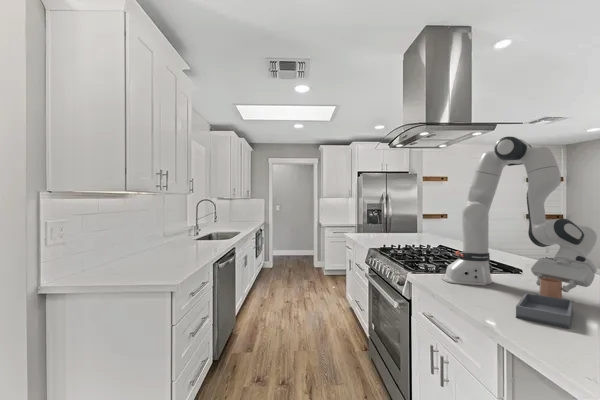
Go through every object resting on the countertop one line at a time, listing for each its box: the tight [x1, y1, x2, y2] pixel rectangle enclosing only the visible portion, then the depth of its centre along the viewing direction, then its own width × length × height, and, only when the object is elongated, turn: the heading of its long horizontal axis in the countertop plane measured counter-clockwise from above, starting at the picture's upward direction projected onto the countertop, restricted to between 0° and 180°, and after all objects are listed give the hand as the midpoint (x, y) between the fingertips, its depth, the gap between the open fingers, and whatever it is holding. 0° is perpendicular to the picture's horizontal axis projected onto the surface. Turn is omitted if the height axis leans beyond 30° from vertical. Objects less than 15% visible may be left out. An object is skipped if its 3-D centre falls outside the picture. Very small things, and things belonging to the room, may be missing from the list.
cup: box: [539, 278, 563, 299], centre depth 125 cm, size 6×6×8 cm
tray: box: [515, 292, 574, 330], centre depth 112 cm, size 20×14×4 cm
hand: (551, 287), depth 125 cm, fingers open, 8 cm apart
